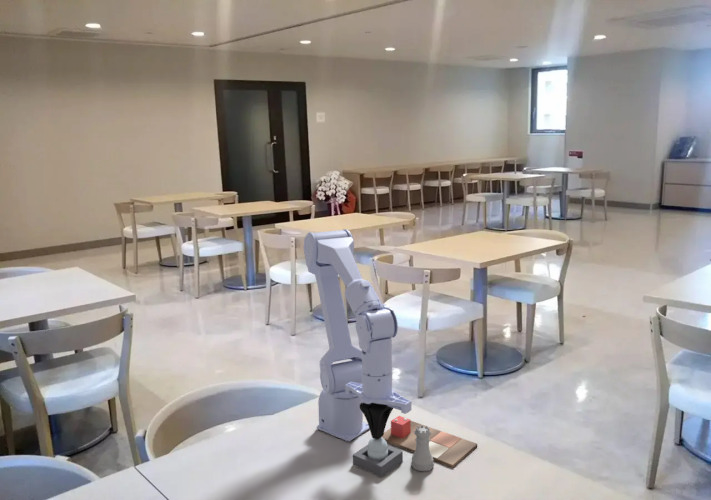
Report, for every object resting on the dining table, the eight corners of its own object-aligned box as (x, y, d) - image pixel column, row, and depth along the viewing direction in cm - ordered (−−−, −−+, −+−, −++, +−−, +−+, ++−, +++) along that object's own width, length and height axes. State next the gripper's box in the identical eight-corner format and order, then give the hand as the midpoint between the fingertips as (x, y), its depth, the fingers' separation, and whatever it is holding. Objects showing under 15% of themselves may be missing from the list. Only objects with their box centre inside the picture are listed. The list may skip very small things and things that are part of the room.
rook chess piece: (433, 473, 112) (433, 434, 110) (409, 471, 113) (409, 432, 111) (434, 461, 116) (435, 423, 115) (412, 458, 117) (412, 421, 116)
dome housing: (352, 464, 115) (352, 454, 115) (374, 449, 121) (374, 440, 120) (381, 477, 111) (381, 466, 111) (402, 461, 116) (402, 451, 116)
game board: (378, 439, 125) (378, 436, 125) (405, 421, 132) (405, 418, 132) (452, 467, 114) (452, 464, 114) (477, 446, 121) (477, 443, 121)
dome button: (363, 459, 115) (363, 438, 114) (375, 450, 118) (375, 430, 118) (379, 466, 113) (379, 445, 112) (392, 457, 116) (391, 436, 115)
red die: (390, 433, 126) (390, 419, 125) (399, 428, 128) (399, 414, 127) (402, 438, 124) (402, 423, 123) (410, 432, 126) (410, 418, 126)
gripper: (334, 368, 114) (336, 433, 116) (395, 387, 104) (396, 457, 107) (357, 357, 119) (358, 419, 121) (417, 374, 110) (417, 441, 112)
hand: (377, 436), depth 115 cm, fingers closed
